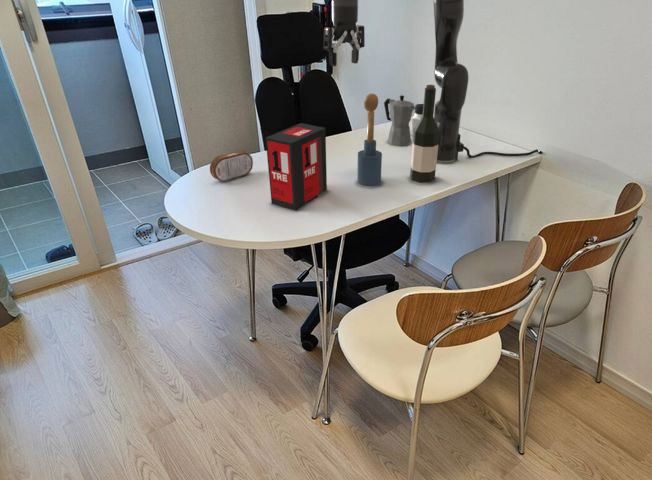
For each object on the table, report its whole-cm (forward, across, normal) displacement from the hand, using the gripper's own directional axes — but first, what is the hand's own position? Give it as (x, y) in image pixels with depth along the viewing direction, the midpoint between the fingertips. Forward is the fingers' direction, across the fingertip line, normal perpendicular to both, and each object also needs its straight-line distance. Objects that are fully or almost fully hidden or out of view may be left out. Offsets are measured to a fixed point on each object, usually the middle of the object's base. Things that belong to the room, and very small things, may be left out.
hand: (344, 64), depth 151 cm
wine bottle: (+34, +16, -23) cm, 44 cm away
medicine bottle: (+34, +52, +11) cm, 63 cm away
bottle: (+34, 0, -13) cm, 37 cm away
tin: (+35, -31, +19) cm, 51 cm away
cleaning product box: (+35, -24, -8) cm, 43 cm away
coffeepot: (+34, +37, +10) cm, 52 cm away
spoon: (+34, 0, -13) cm, 36 cm away
